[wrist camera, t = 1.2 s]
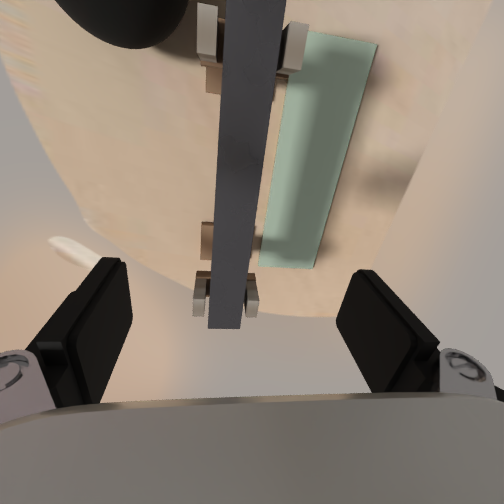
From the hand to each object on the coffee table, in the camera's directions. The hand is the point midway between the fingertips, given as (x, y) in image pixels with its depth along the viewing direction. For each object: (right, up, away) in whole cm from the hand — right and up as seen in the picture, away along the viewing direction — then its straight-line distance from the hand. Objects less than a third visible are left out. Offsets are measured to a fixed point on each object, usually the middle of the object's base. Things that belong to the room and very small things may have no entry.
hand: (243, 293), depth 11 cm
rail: (-1, +6, +10) cm, 12 cm away
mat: (+7, +11, +20) cm, 24 cm away
